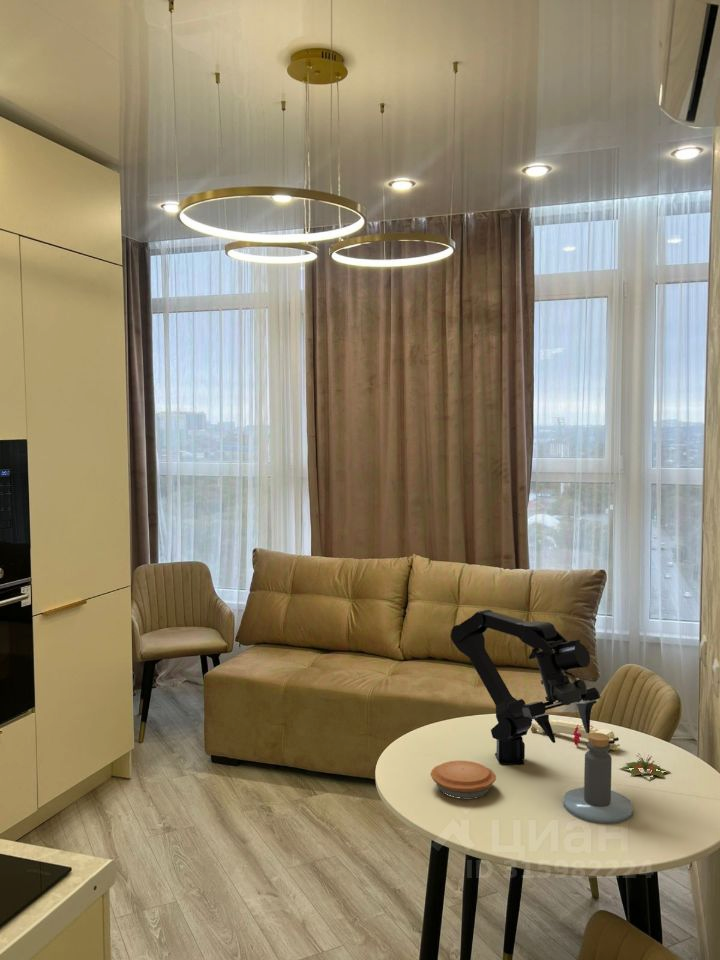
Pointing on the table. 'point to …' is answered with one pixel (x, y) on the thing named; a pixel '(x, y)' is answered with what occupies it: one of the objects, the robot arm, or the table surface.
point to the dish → (608, 814)
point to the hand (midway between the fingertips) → (571, 737)
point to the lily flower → (645, 766)
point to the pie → (463, 778)
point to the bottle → (597, 771)
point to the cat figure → (576, 731)
